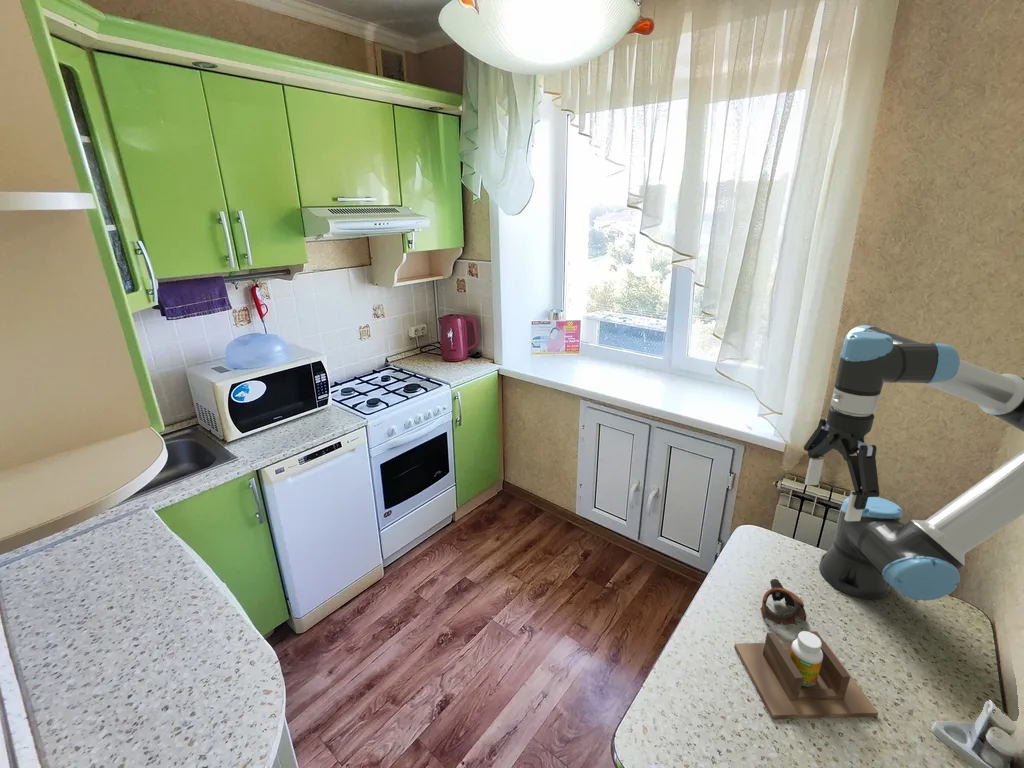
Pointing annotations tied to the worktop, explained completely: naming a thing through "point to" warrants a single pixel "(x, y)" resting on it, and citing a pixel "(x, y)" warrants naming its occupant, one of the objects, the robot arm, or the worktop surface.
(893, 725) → the worktop surface
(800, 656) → the supplement bottle
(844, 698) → the wooden cradle tray
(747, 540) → the worktop surface
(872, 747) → the worktop surface
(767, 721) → the worktop surface
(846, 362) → the robot arm
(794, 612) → the pottery mug
